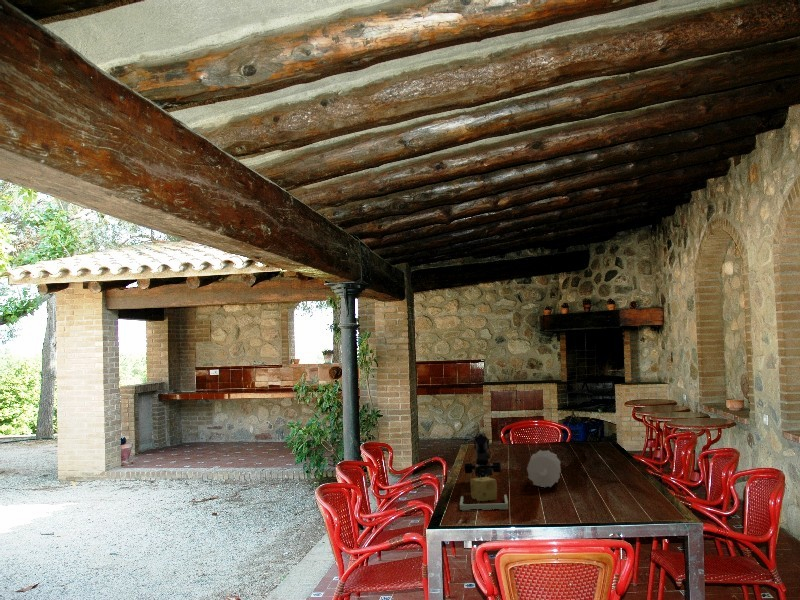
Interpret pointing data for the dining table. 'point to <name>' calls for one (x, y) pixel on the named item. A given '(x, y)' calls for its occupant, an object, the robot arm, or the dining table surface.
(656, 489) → the dining table surface
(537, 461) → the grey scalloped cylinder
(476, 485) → the cheese
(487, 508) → the grey u-shaped frame
